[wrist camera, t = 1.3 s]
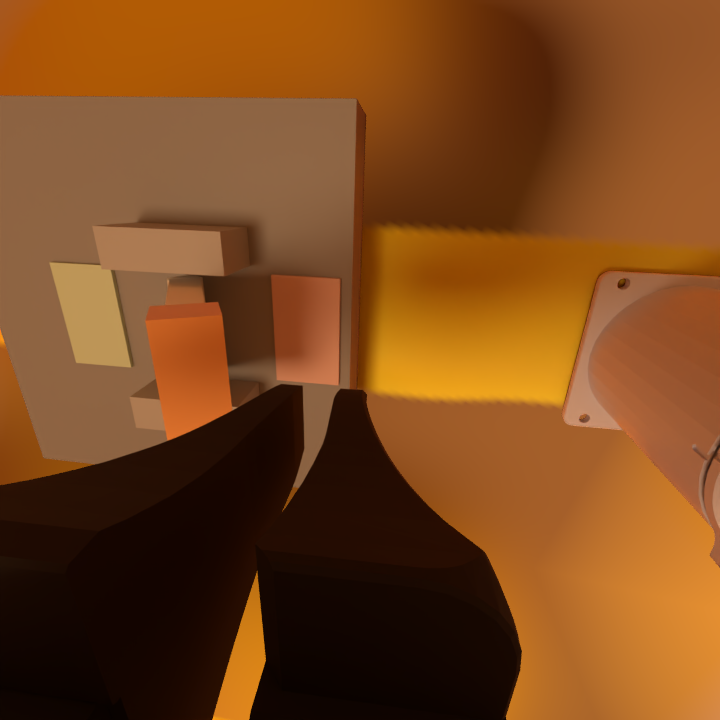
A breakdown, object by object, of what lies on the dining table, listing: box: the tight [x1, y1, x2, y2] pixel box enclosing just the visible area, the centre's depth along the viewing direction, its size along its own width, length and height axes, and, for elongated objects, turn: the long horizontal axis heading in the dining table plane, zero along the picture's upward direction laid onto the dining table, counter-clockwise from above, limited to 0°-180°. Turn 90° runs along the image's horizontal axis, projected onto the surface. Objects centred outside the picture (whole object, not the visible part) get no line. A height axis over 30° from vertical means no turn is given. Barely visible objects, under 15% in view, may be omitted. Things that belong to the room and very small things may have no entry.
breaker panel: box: [0, 96, 366, 487], centre depth 19 cm, size 18×18×6 cm
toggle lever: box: [145, 276, 232, 441], centre depth 15 cm, size 2×5×7 cm, turn 178°
